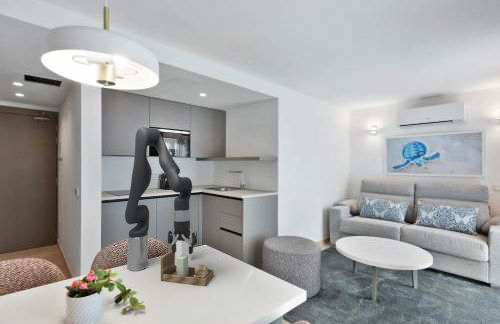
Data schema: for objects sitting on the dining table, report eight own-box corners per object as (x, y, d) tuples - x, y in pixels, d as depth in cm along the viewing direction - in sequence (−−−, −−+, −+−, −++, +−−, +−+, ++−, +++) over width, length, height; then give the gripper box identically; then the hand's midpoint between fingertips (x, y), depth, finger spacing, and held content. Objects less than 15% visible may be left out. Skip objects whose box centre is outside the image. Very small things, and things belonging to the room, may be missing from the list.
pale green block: (176, 279, 117) (176, 258, 117) (181, 274, 122) (181, 254, 122) (183, 280, 116) (183, 259, 116) (188, 275, 121) (188, 255, 121)
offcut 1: (194, 275, 114) (194, 269, 114) (198, 271, 119) (198, 264, 119) (204, 276, 114) (204, 269, 114) (207, 271, 119) (207, 265, 119)
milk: (181, 265, 136) (181, 225, 136) (175, 262, 140) (175, 223, 140) (191, 262, 140) (190, 223, 140) (185, 259, 144) (184, 221, 144)
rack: (160, 283, 116) (160, 257, 116) (173, 273, 126) (173, 249, 126) (204, 289, 110) (204, 261, 110) (213, 278, 121) (213, 253, 121)
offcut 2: (193, 282, 114) (193, 275, 114) (199, 276, 120) (199, 270, 120) (203, 283, 113) (203, 277, 113) (208, 277, 119) (208, 271, 119)
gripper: (164, 220, 117) (164, 254, 117) (191, 221, 113) (192, 257, 113) (173, 216, 124) (173, 249, 124) (199, 217, 121) (199, 251, 120)
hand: (182, 253), depth 119 cm, fingers open, 8 cm apart
